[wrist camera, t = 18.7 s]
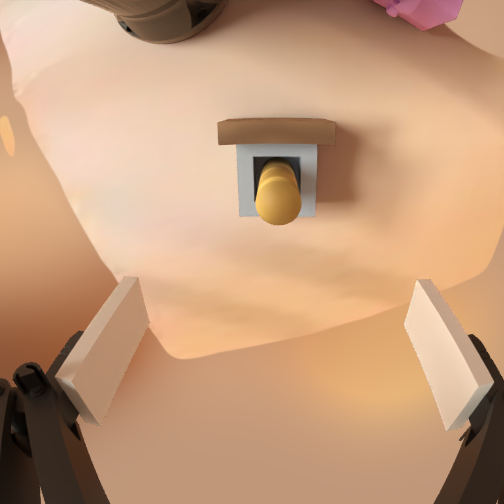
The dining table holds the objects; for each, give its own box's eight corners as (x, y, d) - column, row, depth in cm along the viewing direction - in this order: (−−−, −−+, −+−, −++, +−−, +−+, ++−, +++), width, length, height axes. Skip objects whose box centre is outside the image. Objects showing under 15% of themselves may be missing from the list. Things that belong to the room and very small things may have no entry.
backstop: (228, 119, 37) (217, 122, 30) (323, 118, 36) (335, 122, 29) (229, 137, 38) (218, 145, 31) (323, 137, 37) (335, 145, 30)
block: (240, 136, 38) (236, 141, 33) (312, 136, 37) (317, 141, 32) (243, 203, 42) (239, 216, 37) (310, 203, 41) (315, 216, 36)
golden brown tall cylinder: (261, 187, 39) (255, 225, 28) (261, 156, 38) (255, 181, 26) (293, 187, 39) (300, 225, 28) (293, 156, 37) (302, 181, 26)
